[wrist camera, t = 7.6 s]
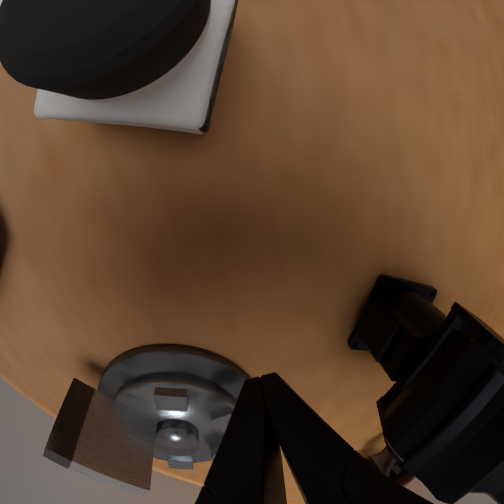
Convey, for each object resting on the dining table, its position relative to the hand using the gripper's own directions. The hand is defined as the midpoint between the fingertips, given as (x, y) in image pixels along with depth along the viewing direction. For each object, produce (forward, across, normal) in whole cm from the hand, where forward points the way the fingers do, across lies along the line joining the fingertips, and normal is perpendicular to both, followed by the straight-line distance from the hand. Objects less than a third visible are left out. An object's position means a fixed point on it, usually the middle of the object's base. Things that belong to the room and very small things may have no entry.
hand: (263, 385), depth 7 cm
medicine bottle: (+12, +2, -11) cm, 17 cm away
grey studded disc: (+10, +10, +12) cm, 18 cm away
